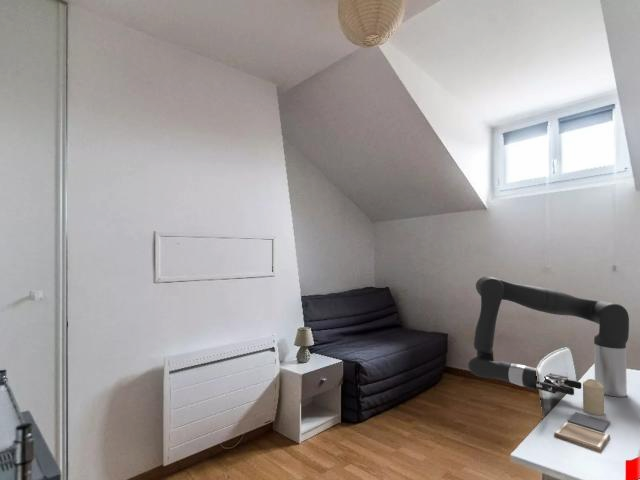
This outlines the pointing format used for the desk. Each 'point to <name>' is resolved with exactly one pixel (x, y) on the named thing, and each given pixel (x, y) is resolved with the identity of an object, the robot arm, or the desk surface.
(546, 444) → the desk surface
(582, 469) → the desk surface
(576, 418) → the pad
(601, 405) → the candle
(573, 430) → the board
